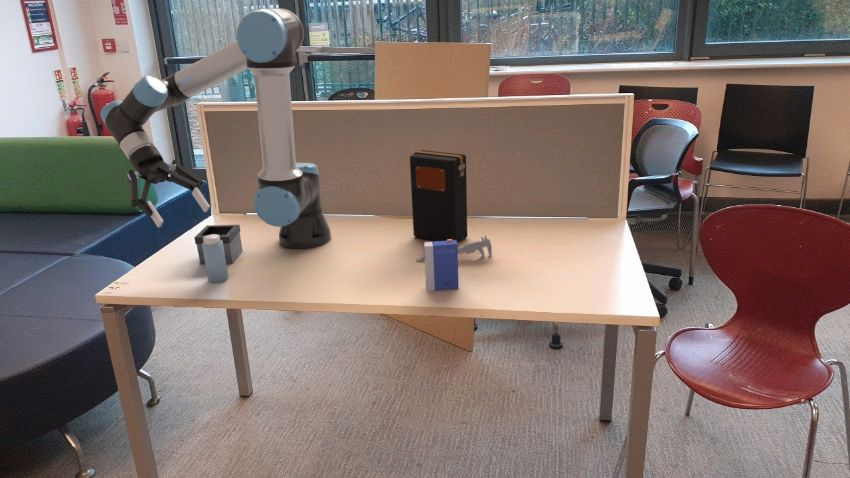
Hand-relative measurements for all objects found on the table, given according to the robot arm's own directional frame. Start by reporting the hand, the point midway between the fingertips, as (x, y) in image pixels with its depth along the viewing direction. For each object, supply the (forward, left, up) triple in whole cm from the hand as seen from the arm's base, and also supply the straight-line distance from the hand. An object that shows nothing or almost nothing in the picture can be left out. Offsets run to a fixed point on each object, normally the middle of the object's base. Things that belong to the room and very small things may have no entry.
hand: (184, 216), depth 163 cm
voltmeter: (-65, -20, -16) cm, 70 cm away
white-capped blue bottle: (-8, +6, -15) cm, 18 cm away
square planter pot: (-4, -9, -15) cm, 18 cm away
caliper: (-69, -4, -16) cm, 71 cm away
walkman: (-66, +14, -16) cm, 69 cm away
